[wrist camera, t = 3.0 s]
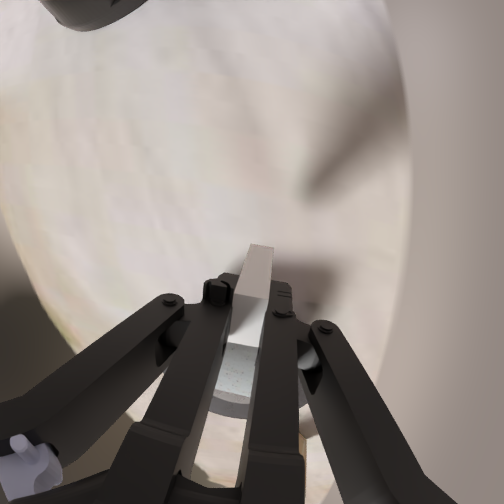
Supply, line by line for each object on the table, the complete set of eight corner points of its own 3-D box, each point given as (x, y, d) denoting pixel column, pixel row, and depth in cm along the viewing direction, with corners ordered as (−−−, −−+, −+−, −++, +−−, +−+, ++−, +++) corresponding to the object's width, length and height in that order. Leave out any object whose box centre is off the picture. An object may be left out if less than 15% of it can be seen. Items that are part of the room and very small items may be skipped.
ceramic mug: (203, 291, 25) (177, 344, 18) (290, 303, 25) (291, 362, 18) (204, 367, 29) (187, 419, 22) (274, 378, 29) (270, 432, 22)
